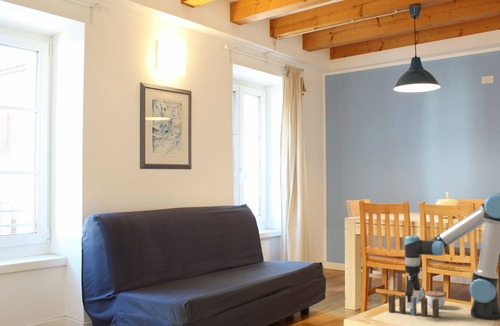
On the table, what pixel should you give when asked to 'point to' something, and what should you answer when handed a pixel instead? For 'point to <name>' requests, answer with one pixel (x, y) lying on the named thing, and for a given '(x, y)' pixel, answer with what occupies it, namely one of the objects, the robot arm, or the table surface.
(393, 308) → the domino
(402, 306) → the domino
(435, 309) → the domino
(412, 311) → the domino
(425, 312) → the domino
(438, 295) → the lidded jar
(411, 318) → the table surface
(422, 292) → the game die
